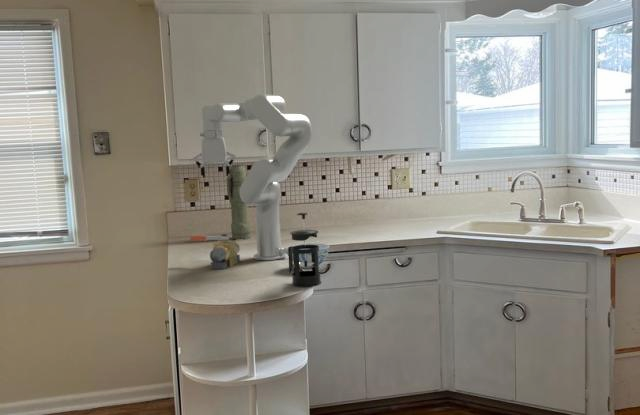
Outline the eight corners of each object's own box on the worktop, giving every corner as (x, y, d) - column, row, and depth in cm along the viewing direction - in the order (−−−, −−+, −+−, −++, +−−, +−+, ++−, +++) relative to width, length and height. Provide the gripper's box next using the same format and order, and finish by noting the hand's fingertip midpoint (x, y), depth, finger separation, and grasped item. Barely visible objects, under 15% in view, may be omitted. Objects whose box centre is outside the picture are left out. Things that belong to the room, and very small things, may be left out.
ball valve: (242, 260, 251) (240, 238, 250) (225, 269, 236) (223, 245, 235) (226, 260, 253) (225, 238, 252) (208, 269, 238) (207, 245, 237)
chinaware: (294, 274, 223) (293, 252, 222) (284, 266, 237) (283, 245, 236) (335, 269, 227) (334, 248, 226) (323, 262, 241) (322, 242, 240)
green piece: (225, 239, 307) (221, 166, 304) (244, 235, 316) (239, 164, 312) (238, 240, 302) (233, 166, 298) (256, 237, 311) (252, 164, 307)
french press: (328, 282, 208) (325, 211, 205) (310, 288, 200) (307, 215, 198) (300, 278, 215) (297, 210, 212) (282, 284, 207) (278, 213, 205)
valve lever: (230, 239, 244) (230, 233, 244) (226, 241, 241) (226, 235, 241) (194, 239, 249) (193, 233, 248) (189, 241, 245) (189, 235, 245)
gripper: (190, 136, 261) (193, 178, 263) (233, 134, 263) (236, 175, 265) (192, 136, 268) (195, 177, 270) (234, 134, 270) (236, 175, 272)
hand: (215, 176), depth 267 cm, fingers open, 9 cm apart
